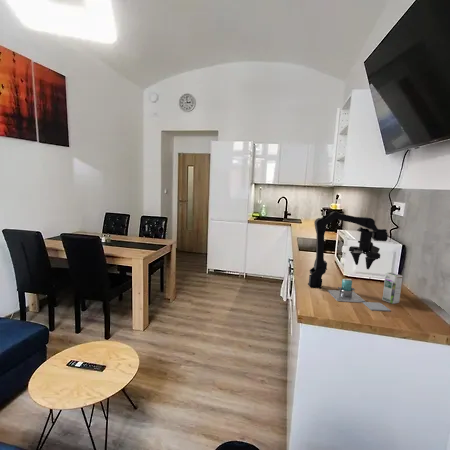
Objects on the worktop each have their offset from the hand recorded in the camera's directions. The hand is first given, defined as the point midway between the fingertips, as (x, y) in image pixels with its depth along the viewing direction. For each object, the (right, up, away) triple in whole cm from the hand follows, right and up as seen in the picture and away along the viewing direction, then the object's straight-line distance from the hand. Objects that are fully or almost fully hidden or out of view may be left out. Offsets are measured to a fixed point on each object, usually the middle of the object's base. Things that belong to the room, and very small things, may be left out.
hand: (362, 267), depth 160 cm
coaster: (-4, -16, -22) cm, 28 cm away
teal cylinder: (-13, -10, -11) cm, 20 cm away
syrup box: (+8, -16, -13) cm, 22 cm away
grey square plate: (-14, -14, -10) cm, 22 cm away
